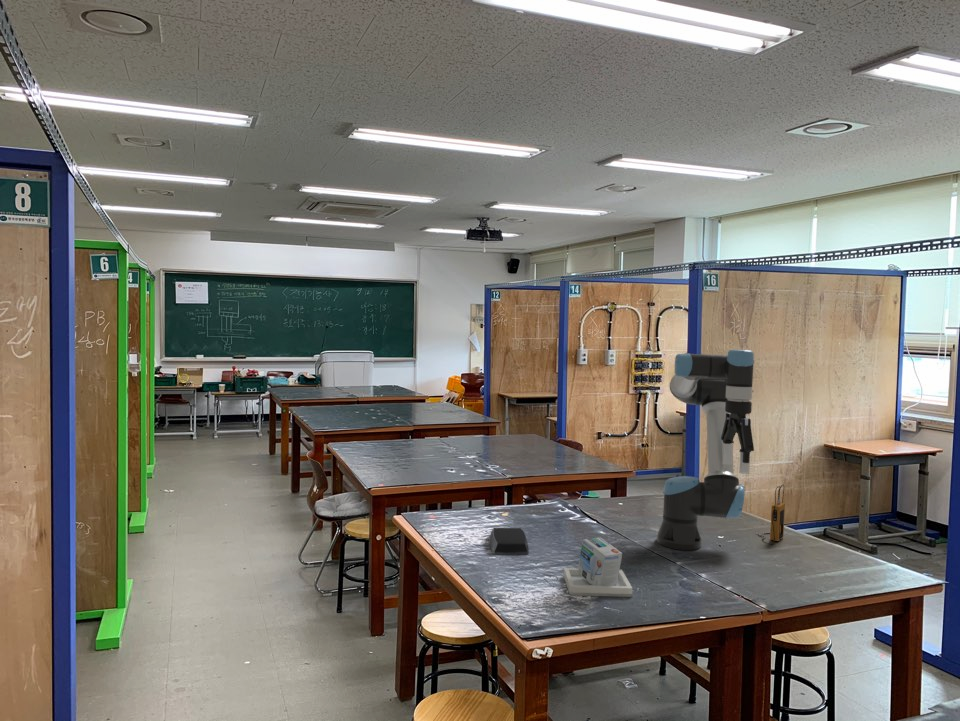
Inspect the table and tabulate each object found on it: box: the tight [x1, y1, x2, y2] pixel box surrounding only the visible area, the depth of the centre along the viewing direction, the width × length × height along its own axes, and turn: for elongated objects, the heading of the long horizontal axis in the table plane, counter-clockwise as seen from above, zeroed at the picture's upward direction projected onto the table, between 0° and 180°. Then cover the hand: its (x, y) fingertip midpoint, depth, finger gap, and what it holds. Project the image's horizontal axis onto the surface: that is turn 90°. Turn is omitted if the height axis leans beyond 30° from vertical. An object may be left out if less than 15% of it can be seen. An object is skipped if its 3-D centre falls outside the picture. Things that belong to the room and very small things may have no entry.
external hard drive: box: [489, 527, 530, 556], centre depth 229 cm, size 13×19×4 cm
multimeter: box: [756, 484, 786, 544], centre depth 244 cm, size 15×10×20 cm
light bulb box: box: [577, 536, 623, 586], centre depth 192 cm, size 11×7×11 cm, turn 28°
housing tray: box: [563, 567, 634, 598], centre depth 193 cm, size 14×17×2 cm
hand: (735, 468), depth 205 cm, fingers open, 13 cm apart
